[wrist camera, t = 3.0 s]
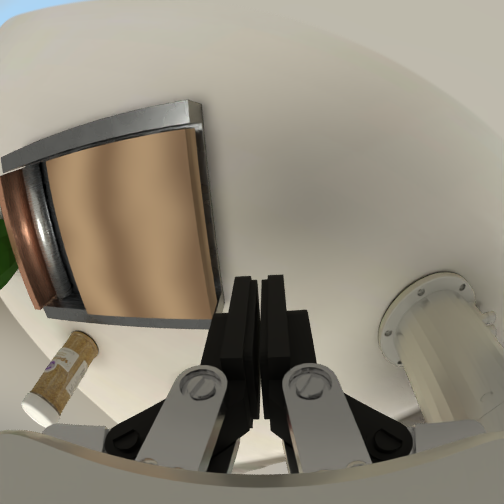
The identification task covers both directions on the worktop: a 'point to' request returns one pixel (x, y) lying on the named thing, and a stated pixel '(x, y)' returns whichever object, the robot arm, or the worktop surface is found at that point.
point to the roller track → (45, 221)
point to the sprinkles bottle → (60, 380)
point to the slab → (136, 227)
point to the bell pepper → (6, 257)
